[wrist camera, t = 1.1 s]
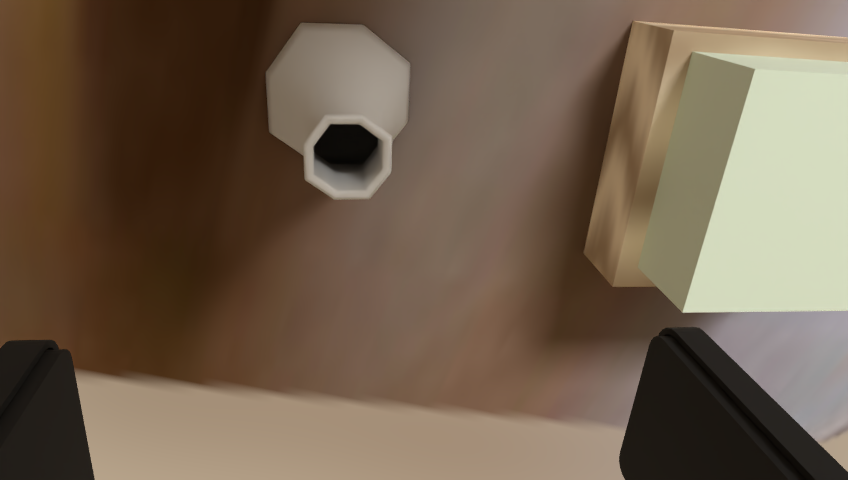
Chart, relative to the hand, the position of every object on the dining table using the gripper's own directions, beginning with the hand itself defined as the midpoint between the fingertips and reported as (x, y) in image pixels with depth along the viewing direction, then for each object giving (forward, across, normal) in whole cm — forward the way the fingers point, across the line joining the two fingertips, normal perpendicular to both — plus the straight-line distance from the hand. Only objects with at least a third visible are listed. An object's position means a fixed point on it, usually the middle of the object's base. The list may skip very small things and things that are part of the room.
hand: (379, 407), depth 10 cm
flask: (+23, 0, 0) cm, 23 cm away
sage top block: (+19, -21, +2) cm, 28 cm away
